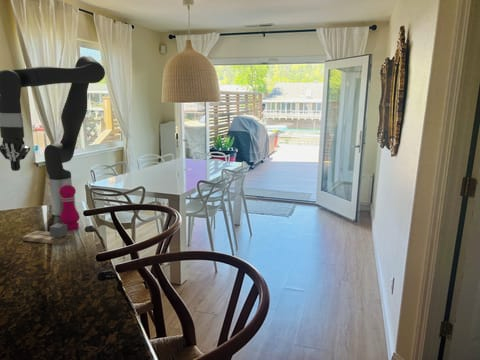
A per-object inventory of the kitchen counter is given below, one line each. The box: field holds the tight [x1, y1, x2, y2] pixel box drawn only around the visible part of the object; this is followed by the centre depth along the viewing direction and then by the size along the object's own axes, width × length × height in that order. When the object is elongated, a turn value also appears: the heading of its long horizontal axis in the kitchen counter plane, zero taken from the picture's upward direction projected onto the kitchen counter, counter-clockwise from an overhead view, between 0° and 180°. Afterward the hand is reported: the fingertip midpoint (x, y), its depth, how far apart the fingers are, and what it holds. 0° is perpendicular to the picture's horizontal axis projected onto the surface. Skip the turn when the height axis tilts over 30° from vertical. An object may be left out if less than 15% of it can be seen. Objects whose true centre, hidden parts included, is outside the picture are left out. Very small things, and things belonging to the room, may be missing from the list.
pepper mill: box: [59, 182, 80, 231], centre depth 146 cm, size 7×7×20 cm
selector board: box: [22, 230, 73, 245], centre depth 135 cm, size 16×7×2 cm, turn 78°
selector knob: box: [49, 222, 69, 238], centre depth 133 cm, size 4×4×4 cm
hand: (16, 170), depth 136 cm, fingers closed
